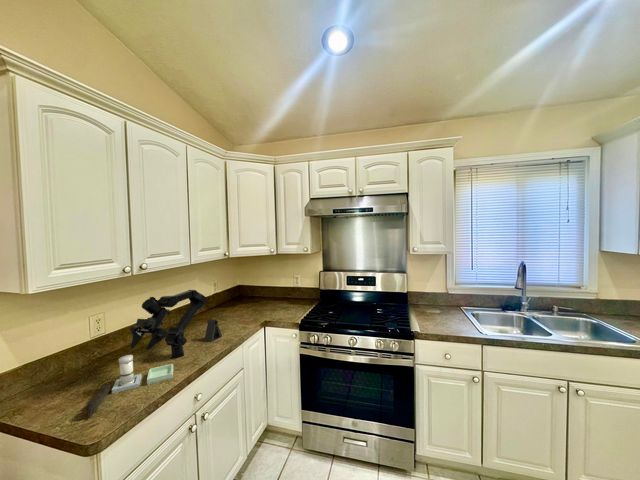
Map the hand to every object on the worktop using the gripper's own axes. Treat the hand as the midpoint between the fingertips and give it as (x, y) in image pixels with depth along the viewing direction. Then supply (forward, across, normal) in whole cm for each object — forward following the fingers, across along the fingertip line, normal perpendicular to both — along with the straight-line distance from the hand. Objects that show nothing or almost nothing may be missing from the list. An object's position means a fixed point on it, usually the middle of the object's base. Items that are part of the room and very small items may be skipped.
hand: (138, 349), depth 129 cm
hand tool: (+24, +2, -4) cm, 24 cm away
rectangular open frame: (+14, 0, +5) cm, 15 cm away
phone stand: (-24, +5, +43) cm, 49 cm away
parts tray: (+8, +9, +11) cm, 16 cm away
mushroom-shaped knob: (+14, 0, +5) cm, 15 cm away
